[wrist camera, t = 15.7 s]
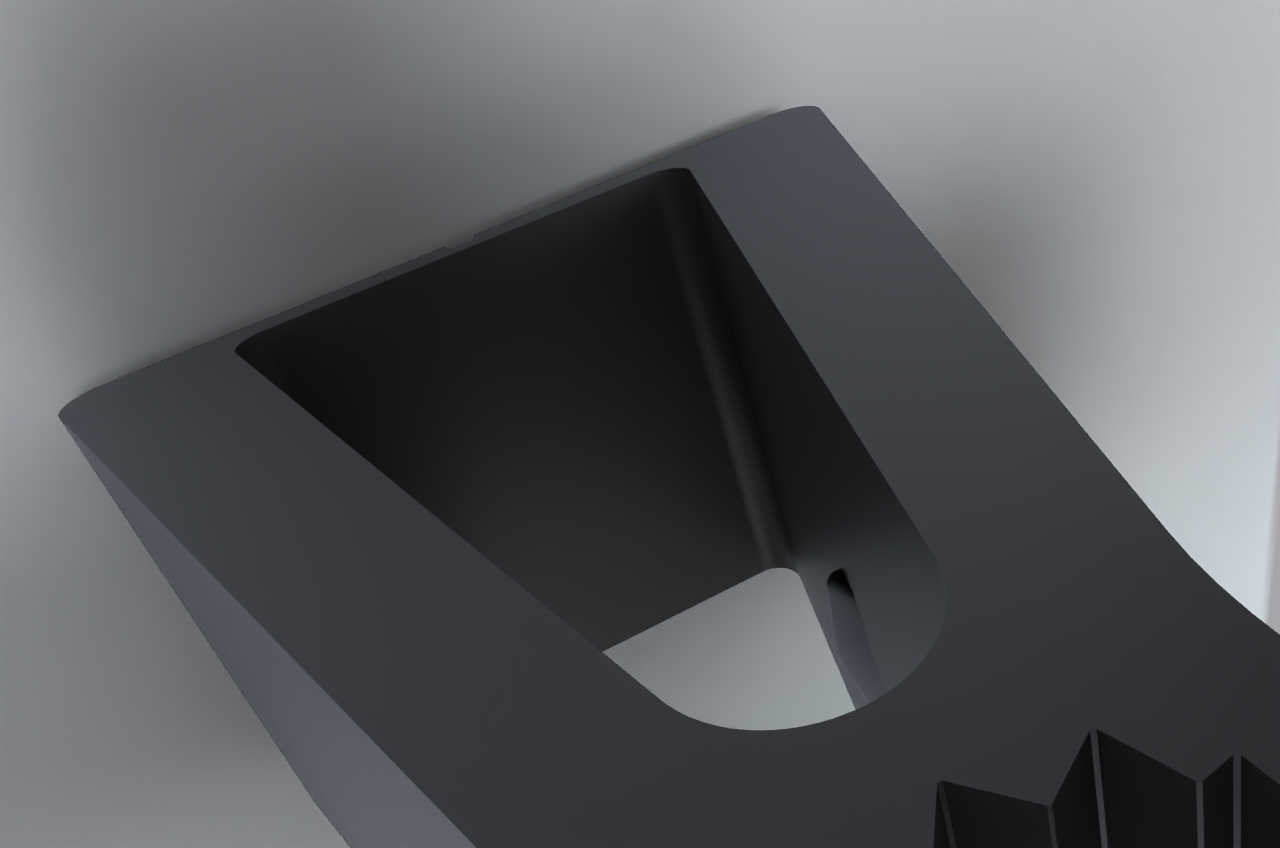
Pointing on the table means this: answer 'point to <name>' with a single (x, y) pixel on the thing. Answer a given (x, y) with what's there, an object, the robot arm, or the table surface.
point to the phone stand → (688, 536)
